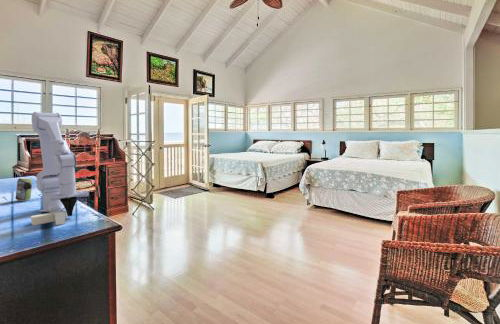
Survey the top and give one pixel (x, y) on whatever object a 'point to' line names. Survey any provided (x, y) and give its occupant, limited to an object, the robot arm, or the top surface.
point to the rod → (43, 218)
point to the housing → (57, 214)
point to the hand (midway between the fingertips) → (69, 215)
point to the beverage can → (23, 189)
